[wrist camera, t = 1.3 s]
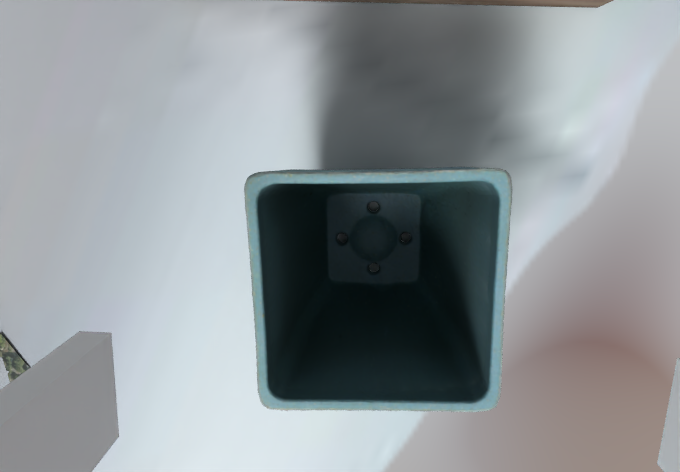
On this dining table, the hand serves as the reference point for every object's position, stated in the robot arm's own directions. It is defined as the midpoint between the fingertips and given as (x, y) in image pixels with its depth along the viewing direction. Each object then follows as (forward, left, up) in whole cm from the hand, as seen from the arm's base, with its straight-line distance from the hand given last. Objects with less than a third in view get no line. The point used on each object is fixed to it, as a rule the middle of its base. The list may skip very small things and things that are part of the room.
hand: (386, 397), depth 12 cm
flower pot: (0, 0, -15) cm, 15 cm away
